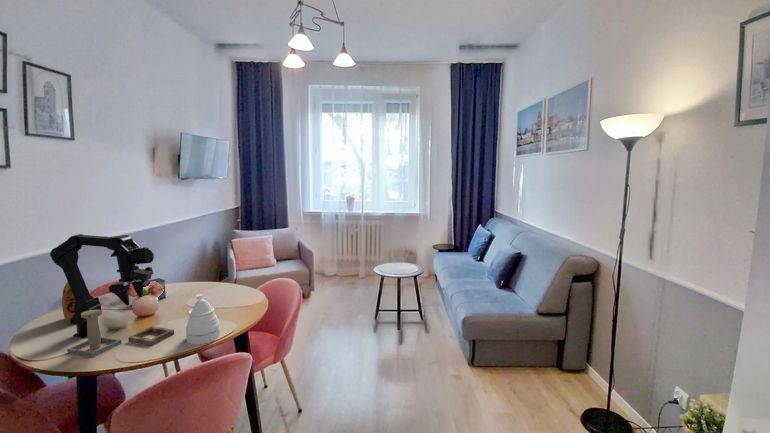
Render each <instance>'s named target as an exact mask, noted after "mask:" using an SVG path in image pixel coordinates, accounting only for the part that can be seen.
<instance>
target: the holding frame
mask: <svg viewBox="0 0 770 433" xmlns="http://www.w3.org/2000/svg"><path fill="white" fill-rule="evenodd" d="M100 342H104V343H105V342H106V343H110V344H107V345H105V346H103V347H100V348H98V349H96V350H95V351H92V352H91V351H87V350H86V351H85V350H81V349H82V348H84V347H86V346H88V345H89V342H88V339H87V340H85V341H83V342H81V343H78V344H75V345H74V346H72V347H69V348H66V350H67V354H73V355H77V356H82V357H87V358H94V357H96V356H98V355H100V354H103V353H105V352H106V351H109V350H111V349H113V348H115V347H118V346H119V345H121V344H122V339H118V338H112V337H108V336H106V337H105V336H101V341H100ZM89 346H90V345H89Z"/></svg>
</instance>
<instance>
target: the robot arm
mask: <svg viewBox="0 0 770 433" xmlns="http://www.w3.org/2000/svg"><path fill="white" fill-rule="evenodd" d="M83 246H87V247H100V248H106V249H108V250H110V251H113V252H112V253H111V254H110V258H112V257H113V258H114V257H116V261H117V266H118V269H116V273H119V276H120V278H119V279H118V282H114V283H112V284H110V285H109V286H108V292H109V293H112V294H114V295H115V296H116V297H118V298H119V299H120V301H122V303H124V304H125V306H129V305H130V297H129V296H130V295H129V292H130V291H131V289H132V288H130V287H131V286H132V287H133V289H134V291H135V293H136V295H137V297H139V298H140V297H142V294H143V287H144V284H145V282H146V281H149V280H152V275H154V270H153V268H152V267H151V266H148V267H145V268H140V267H139V265H143V264H145V265H146V264H150V263H152V262H154V261H153V260H154V258H155V256H154V253H153V251H152V250H151V249H150V248H149V246H145V247H141V246H140V245H139V244H138V243H137V242H136V241H135V240H134V239H133V238H132V236H131V235H129V234H122V235H121V234H120V235H115V236H101V235H89V234H82V233H81V234H80V233H79V234H75V235H71V236H70V237H69V238H67V239H66V240H65V241H63V242H62V243H60V244H59V245H57V246H56V247H53V248H52V249H51V251H50V252H49V255H50V258H51V259H52V261H53V263H54V265H57V266H58V267H59V268H61V269H62V271H63V274H64V276H65V278H66V280H67V282H68V283H69V285H70V288H71V290H72V292H73V295H74V297H75V300H76V302H75V306H74V310H75V314H74V315H73V317H72V318H71V319H70V323H71V324H70V325H75V326H76V333H73V337H76V338H81V339H84V338H88V337H87V319H86V318H82V317H81V313H82V312H85V311H89V310H97V309H99V310H102V303H101V302H100V298H99V297H98V296H96V297H93V295H91V293H90V292H89V289H88V287H87V285H86V282H85V279H84V277H83V275H82V273H81V270H80V267H79V265H78V263H79V259H80V258H79V257H80V256H79V251H80V250H81V249H82V248H83Z"/></svg>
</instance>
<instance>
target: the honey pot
mask: <svg viewBox="0 0 770 433" xmlns="http://www.w3.org/2000/svg"><path fill="white" fill-rule="evenodd" d="M203 296H204V294H202V293H200V294H199V293H198V294H196V295H195V297H196V299H197V301H196V302H195V304H194V306H193V307H192V308H191V309H190V310H188V312H187V315H188V316H189V318H188V320H187V325H186V327H185V334H186V335H185V336H186V339H185V340H186V342H187V343H189V344H191V345H203V344H207V343H211V342H213V341H215V340H218V338H219V337H220V336H221V326H220V321H219V319H218V317H217V314H216V312H215V307H214V306H211V304H210V302H208V301H207V300H206V299H204V298H203Z"/></svg>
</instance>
